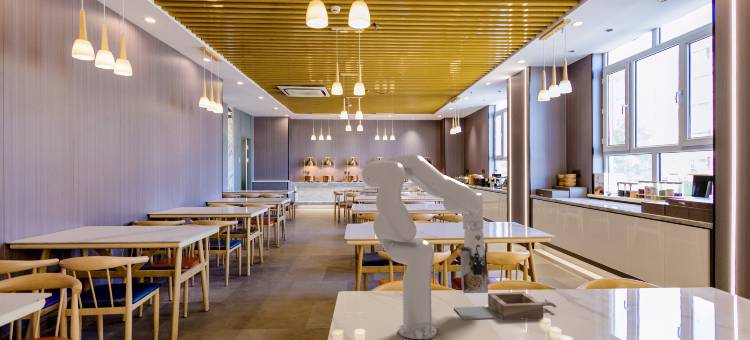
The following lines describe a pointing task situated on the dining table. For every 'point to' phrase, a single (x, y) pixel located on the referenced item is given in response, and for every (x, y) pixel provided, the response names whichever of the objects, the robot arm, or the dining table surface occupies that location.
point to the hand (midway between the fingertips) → (473, 271)
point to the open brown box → (517, 305)
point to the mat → (474, 313)
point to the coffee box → (470, 280)
